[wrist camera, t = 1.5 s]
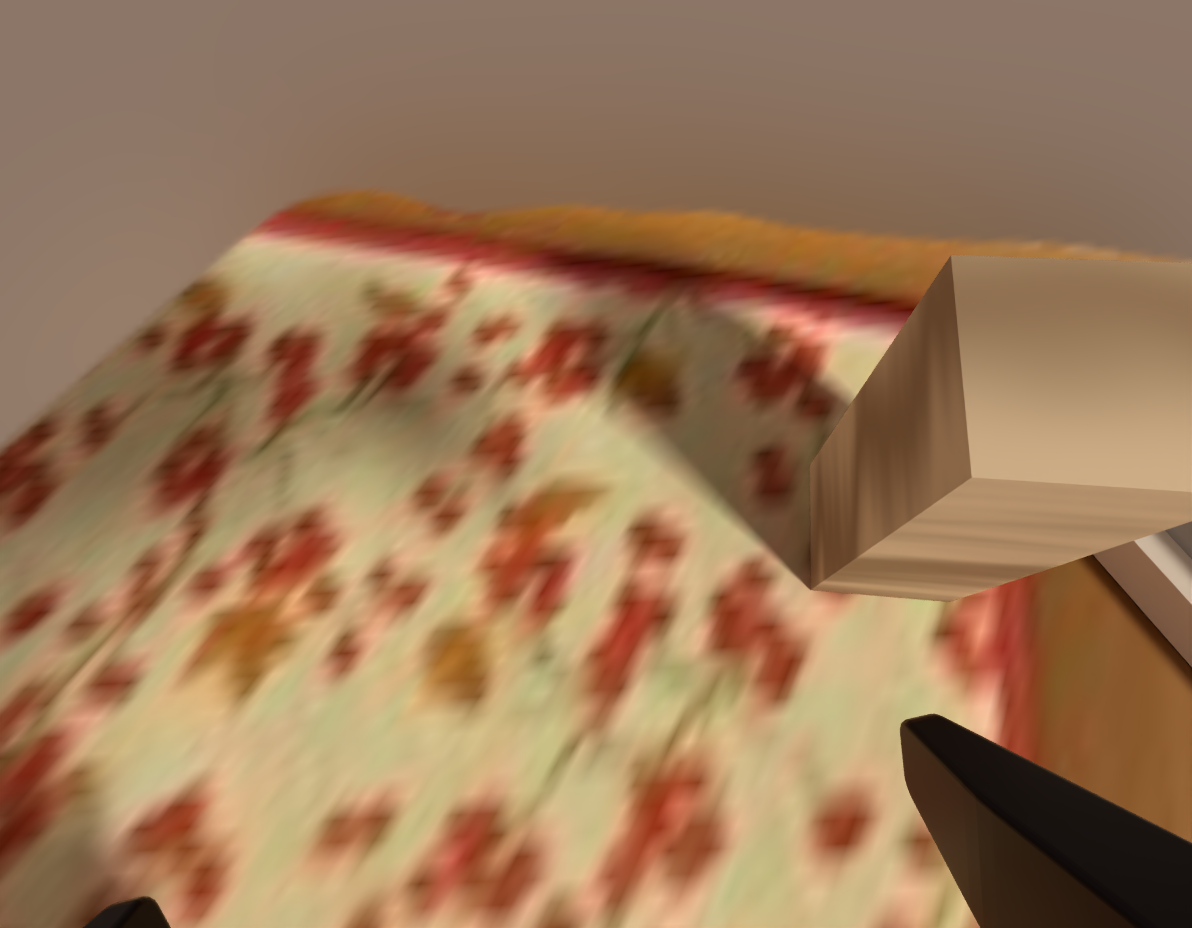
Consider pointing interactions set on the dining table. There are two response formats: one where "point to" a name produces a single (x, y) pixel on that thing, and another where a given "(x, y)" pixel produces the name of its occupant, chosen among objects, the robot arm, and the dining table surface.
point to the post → (1011, 429)
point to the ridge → (1158, 581)
